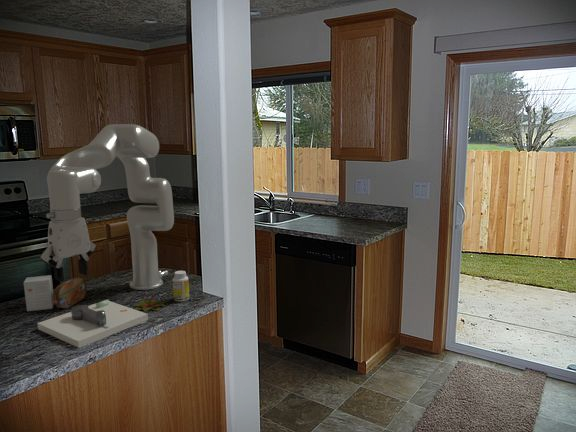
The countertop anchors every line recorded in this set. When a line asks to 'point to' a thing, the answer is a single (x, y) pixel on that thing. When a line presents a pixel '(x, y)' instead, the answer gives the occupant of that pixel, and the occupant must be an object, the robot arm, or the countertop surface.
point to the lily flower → (149, 304)
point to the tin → (69, 292)
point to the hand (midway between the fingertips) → (71, 276)
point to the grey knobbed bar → (88, 315)
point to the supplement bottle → (180, 286)
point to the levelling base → (92, 324)
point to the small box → (39, 293)
